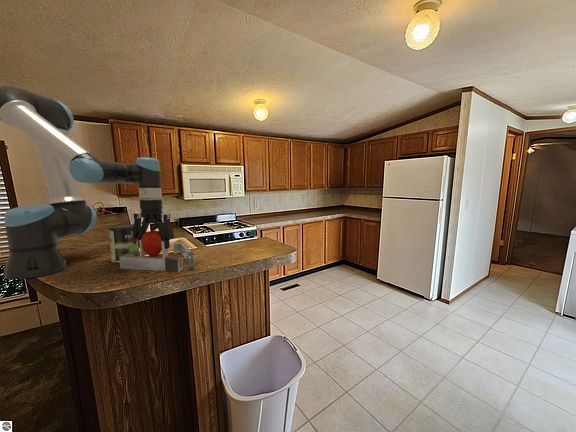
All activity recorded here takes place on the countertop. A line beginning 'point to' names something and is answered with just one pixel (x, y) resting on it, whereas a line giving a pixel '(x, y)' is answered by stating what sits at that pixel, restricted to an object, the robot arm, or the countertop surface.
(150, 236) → the apple
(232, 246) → the countertop surface
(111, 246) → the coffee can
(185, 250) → the jaw
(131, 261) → the long grey bar
